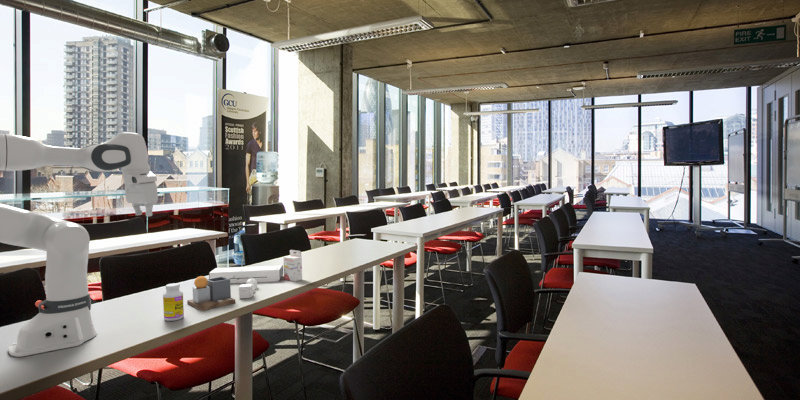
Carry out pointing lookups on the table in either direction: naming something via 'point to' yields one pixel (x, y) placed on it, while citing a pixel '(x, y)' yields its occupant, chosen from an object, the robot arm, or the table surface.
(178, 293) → the supplement bottle
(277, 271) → the laminator
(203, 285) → the ball
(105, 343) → the table surface
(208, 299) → the light grey square container
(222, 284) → the dark grey square container
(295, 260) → the ink cartridge box
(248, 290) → the white dumbbell
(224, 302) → the brown wooden tray
